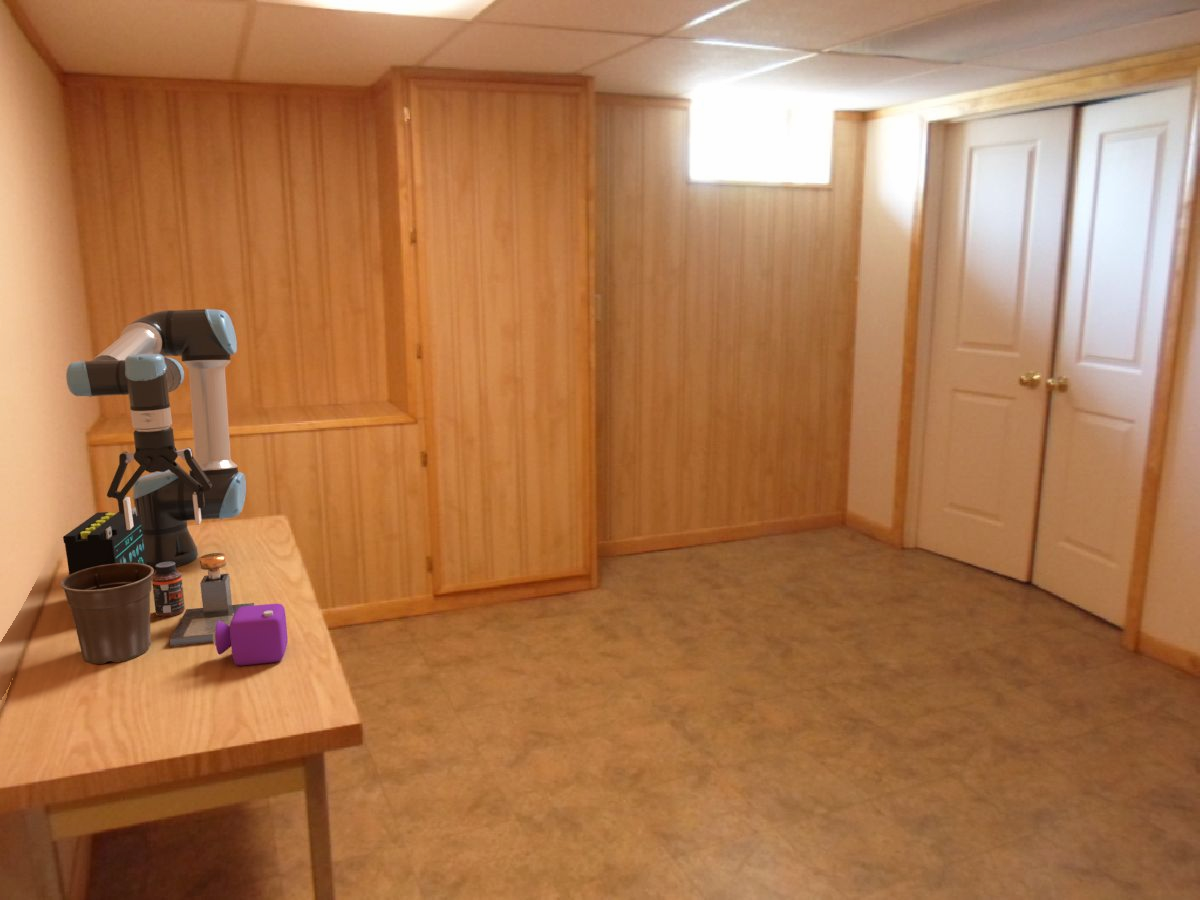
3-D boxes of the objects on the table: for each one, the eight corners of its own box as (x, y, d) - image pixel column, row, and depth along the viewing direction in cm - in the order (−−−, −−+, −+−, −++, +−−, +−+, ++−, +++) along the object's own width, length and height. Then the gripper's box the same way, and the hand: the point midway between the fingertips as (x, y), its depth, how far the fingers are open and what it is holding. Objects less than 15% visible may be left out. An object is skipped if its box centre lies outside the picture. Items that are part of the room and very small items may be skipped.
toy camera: (214, 653, 182) (209, 606, 180) (287, 641, 187) (282, 595, 185) (215, 675, 172) (210, 625, 170) (292, 661, 178) (287, 613, 176)
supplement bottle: (173, 618, 200) (168, 569, 198) (149, 616, 202) (143, 567, 199) (191, 608, 206) (185, 560, 204) (167, 606, 207) (161, 559, 205)
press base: (187, 615, 202) (182, 576, 200) (254, 609, 205) (250, 570, 203) (170, 646, 186) (165, 604, 184) (243, 639, 189) (239, 597, 187)
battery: (122, 617, 202) (110, 530, 198) (75, 620, 200) (62, 532, 196) (150, 587, 220) (140, 506, 216) (107, 590, 219) (96, 509, 215)
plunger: (205, 584, 201) (201, 554, 200) (230, 582, 202) (227, 552, 201) (200, 592, 196) (197, 561, 195) (226, 590, 197) (223, 559, 196)
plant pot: (180, 641, 188) (172, 566, 185) (116, 674, 173) (105, 593, 170) (120, 631, 194) (110, 558, 191) (52, 663, 179) (40, 584, 176)
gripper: (82, 435, 186) (96, 535, 191) (213, 427, 192) (224, 525, 196) (92, 428, 193) (105, 525, 198) (219, 421, 199) (229, 515, 204)
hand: (164, 525), depth 197 cm, fingers open, 13 cm apart
